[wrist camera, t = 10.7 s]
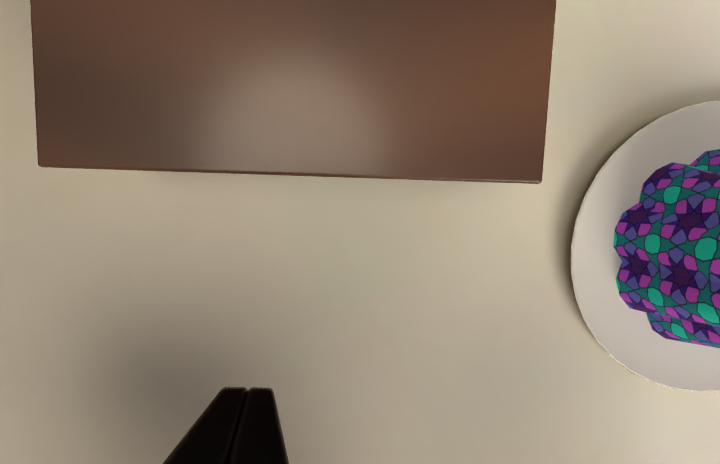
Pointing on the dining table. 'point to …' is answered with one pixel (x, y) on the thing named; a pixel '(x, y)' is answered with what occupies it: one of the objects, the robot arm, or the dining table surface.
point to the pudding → (656, 251)
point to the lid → (295, 87)
